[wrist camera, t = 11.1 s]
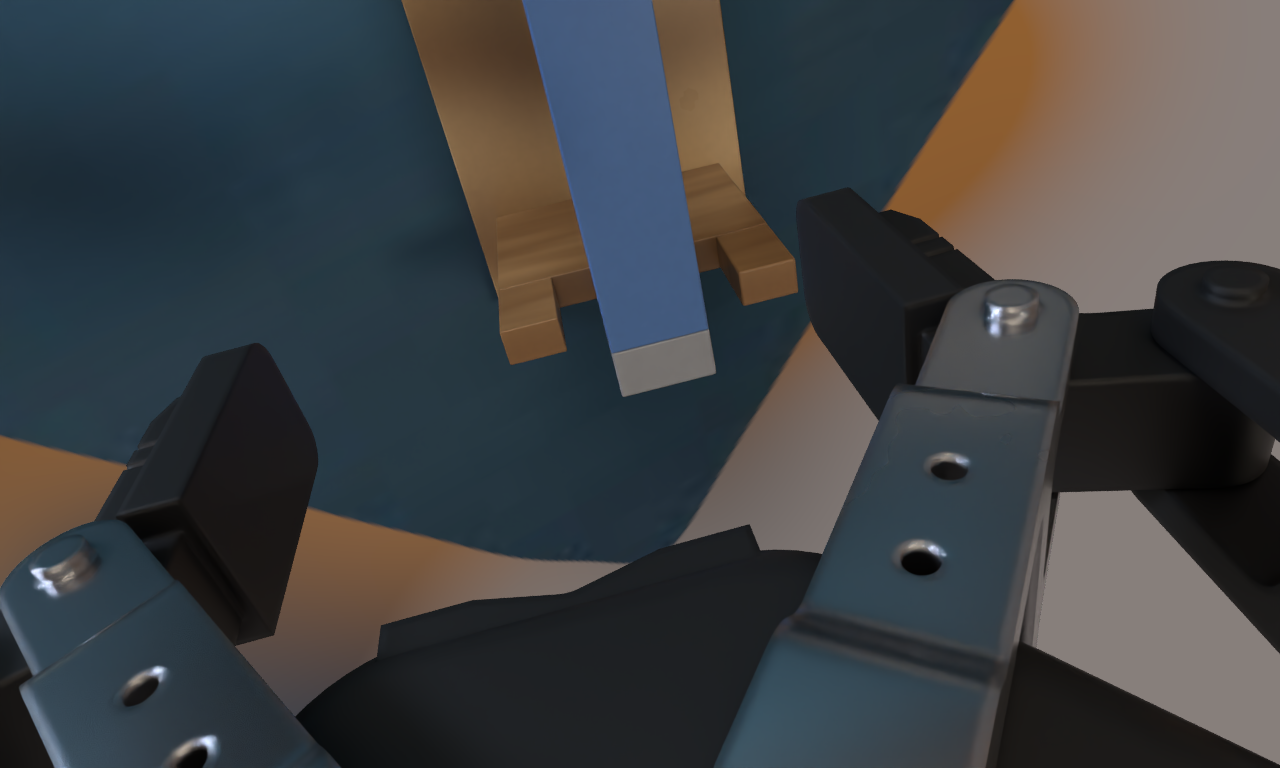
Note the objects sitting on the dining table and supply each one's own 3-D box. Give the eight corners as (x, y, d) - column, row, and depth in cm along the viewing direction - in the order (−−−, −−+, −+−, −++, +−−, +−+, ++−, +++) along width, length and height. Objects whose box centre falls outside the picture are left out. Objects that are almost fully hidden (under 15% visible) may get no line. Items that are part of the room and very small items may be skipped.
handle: (453, -272, 20) (447, -300, 16) (576, -300, 20) (595, -335, 16) (606, 336, 29) (622, 398, 26) (690, 315, 29) (716, 373, 26)
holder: (318, -271, 25) (223, -350, 16) (666, -350, 26) (767, -473, 17) (502, 299, 36) (508, 446, 27) (745, 238, 37) (833, 363, 27)
